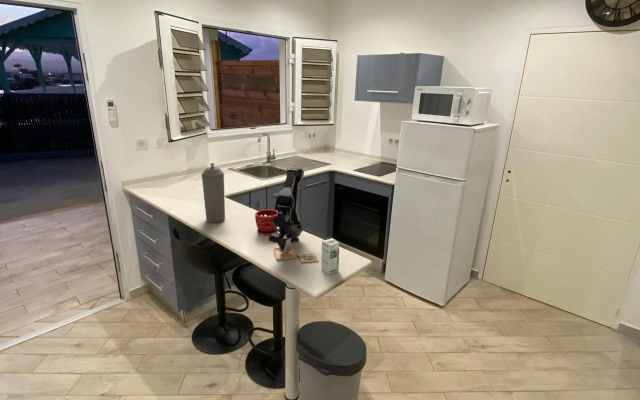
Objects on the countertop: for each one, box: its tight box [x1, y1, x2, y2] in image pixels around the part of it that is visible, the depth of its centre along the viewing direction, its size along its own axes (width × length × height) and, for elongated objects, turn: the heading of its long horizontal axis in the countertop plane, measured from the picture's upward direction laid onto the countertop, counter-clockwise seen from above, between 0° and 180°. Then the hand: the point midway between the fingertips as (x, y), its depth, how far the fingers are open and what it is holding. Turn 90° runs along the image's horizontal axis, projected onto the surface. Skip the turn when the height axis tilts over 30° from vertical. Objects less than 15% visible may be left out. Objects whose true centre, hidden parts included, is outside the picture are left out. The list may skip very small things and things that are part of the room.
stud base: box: [297, 251, 319, 264], centre depth 169 cm, size 8×8×2 cm
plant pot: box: [254, 209, 279, 237], centre depth 196 cm, size 13×13×12 cm
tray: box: [272, 245, 298, 261], centre depth 173 cm, size 12×10×1 cm
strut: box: [278, 236, 292, 254], centre depth 172 cm, size 4×4×7 cm
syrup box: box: [320, 237, 340, 275], centre depth 157 cm, size 6×6×14 cm
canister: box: [201, 162, 226, 224], centre depth 207 cm, size 13×13×35 cm
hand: (284, 248), depth 172 cm, fingers closed on strut, 4 cm apart
